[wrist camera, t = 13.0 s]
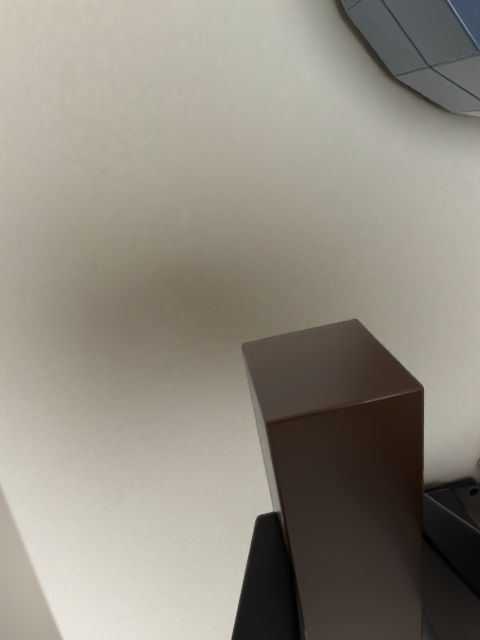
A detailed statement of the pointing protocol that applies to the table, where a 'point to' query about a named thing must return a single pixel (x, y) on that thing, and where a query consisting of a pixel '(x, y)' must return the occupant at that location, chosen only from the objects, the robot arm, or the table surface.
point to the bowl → (427, 46)
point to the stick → (344, 477)
